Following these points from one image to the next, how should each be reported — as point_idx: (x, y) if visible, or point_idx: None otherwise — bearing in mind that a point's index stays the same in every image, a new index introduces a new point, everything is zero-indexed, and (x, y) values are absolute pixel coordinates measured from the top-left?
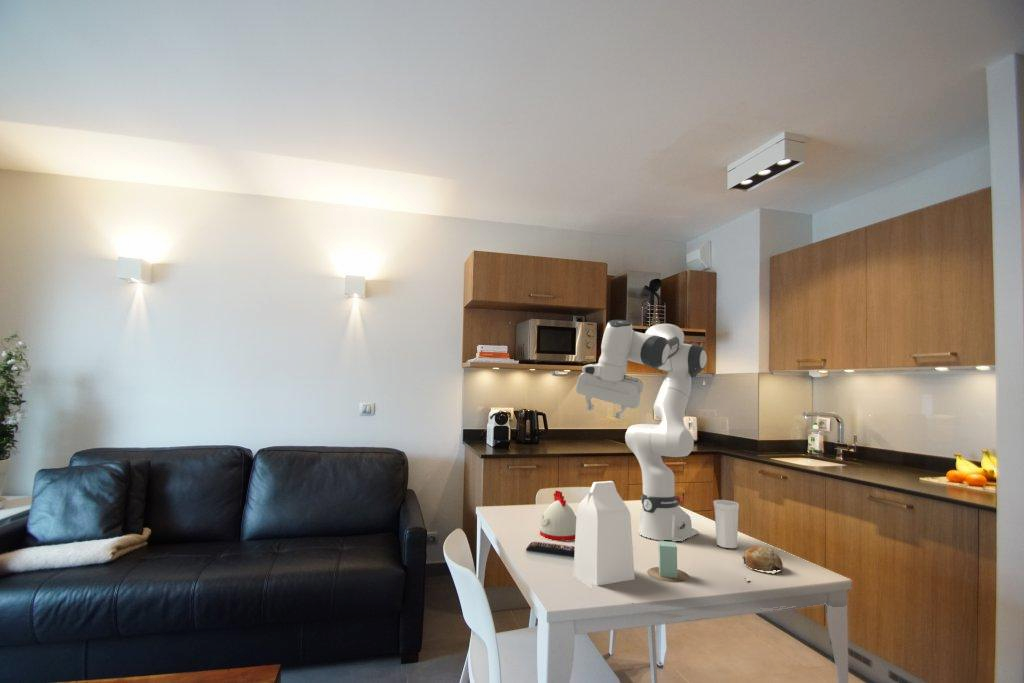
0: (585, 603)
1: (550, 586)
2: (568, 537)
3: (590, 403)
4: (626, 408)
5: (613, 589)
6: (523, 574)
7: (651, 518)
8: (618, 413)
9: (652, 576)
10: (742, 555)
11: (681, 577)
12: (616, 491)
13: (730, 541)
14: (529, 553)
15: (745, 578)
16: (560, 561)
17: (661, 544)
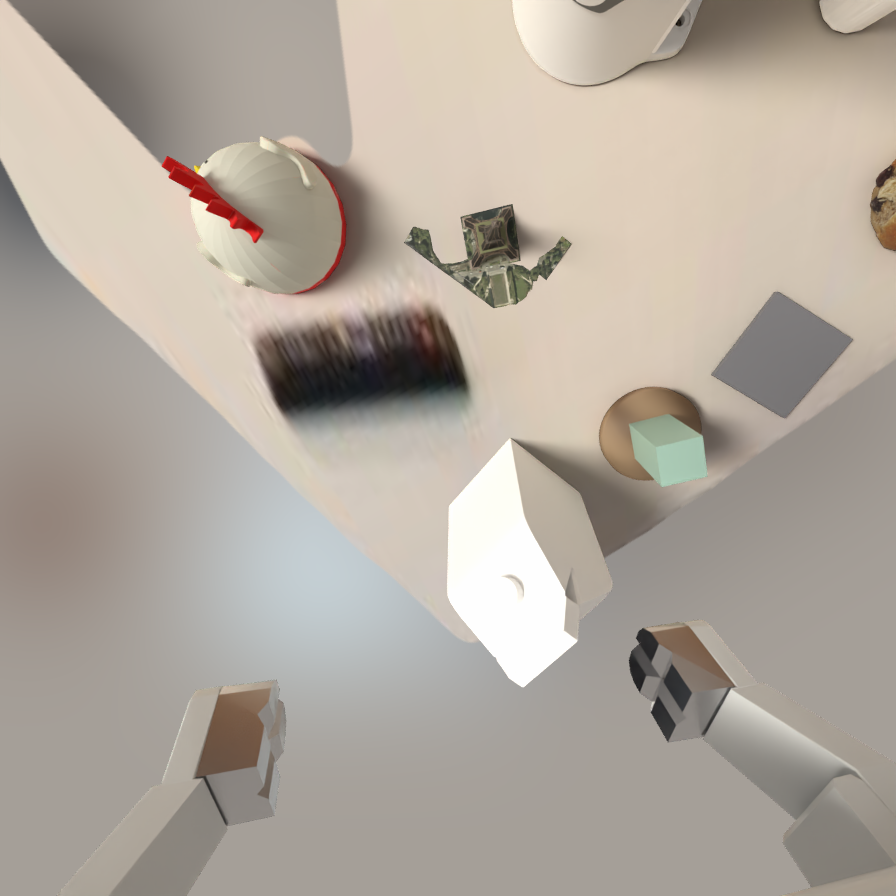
0: None
1: (431, 571)
2: (330, 270)
3: (197, 826)
4: (890, 775)
5: None
6: (359, 546)
7: (589, 27)
8: (700, 736)
9: (617, 467)
10: (886, 185)
11: None
12: (578, 606)
13: (885, 14)
14: (301, 431)
15: (841, 343)
16: (390, 443)
17: (665, 474)
